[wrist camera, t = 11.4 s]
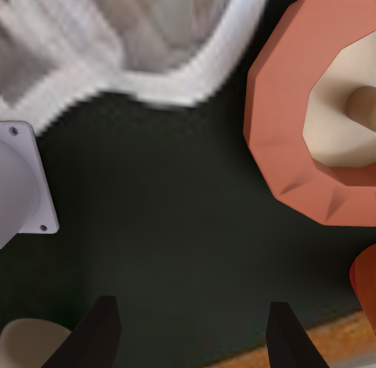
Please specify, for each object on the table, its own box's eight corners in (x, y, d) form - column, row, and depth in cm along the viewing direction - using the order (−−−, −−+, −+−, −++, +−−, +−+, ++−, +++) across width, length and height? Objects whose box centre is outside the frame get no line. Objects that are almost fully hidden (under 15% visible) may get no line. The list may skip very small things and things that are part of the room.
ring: (237, 201, 17) (241, 223, 15) (256, -37, 12) (266, -55, 10) (437, 205, 17) (471, 229, 14) (553, -46, 11) (635, -67, 9)
